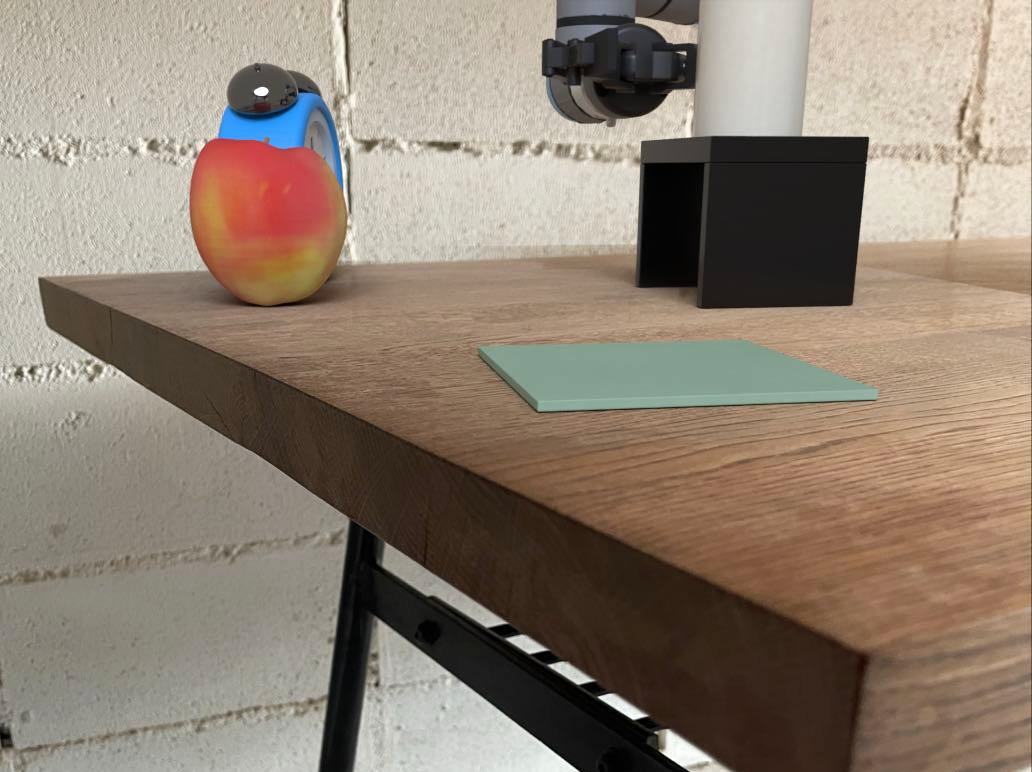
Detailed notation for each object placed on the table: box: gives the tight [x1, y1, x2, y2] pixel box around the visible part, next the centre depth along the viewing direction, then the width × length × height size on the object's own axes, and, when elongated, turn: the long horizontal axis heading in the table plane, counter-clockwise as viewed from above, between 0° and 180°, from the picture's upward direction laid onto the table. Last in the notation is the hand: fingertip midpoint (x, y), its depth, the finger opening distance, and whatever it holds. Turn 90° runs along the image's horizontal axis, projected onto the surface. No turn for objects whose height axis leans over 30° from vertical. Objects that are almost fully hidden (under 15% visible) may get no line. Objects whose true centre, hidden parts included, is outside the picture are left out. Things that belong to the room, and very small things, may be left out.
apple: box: [188, 136, 349, 307], centre depth 70 cm, size 10×10×10 cm
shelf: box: [634, 135, 870, 309], centre depth 75 cm, size 10×14×10 cm
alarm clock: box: [217, 62, 344, 193], centre depth 82 cm, size 13×6×15 cm, turn 174°
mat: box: [477, 338, 880, 413], centre depth 47 cm, size 13×13×1 cm
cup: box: [691, 0, 814, 137], centre depth 72 cm, size 7×7×10 cm
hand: (705, 50), depth 79 cm, fingers open, 13 cm apart
